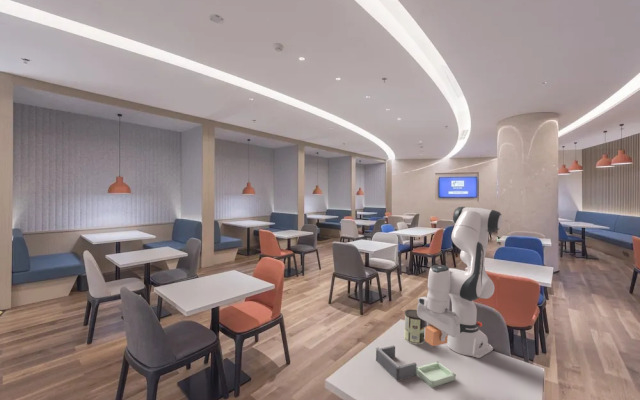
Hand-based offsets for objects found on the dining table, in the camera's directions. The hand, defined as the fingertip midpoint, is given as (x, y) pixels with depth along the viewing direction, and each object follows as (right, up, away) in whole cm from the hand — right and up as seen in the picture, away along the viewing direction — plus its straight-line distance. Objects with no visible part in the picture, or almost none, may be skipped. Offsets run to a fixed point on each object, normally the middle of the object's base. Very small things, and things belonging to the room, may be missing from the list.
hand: (436, 336), depth 117 cm
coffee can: (+1, -17, +30) cm, 35 cm away
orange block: (0, -2, 0) cm, 2 cm away
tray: (-1, -17, 0) cm, 17 cm away
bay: (-16, -16, +6) cm, 23 cm away
